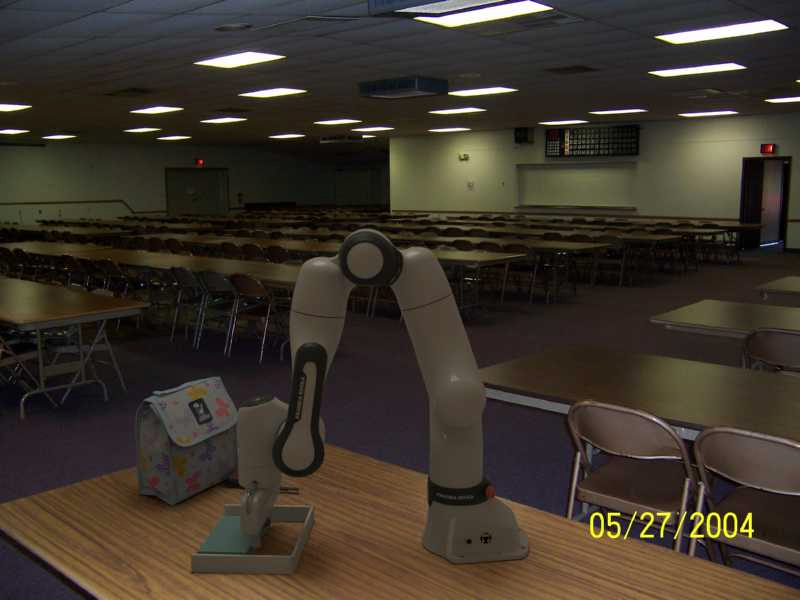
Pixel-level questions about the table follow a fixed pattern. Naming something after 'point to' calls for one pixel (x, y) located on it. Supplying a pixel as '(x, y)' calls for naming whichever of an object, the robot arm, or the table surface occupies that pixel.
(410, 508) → the table surface
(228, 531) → the cover plate
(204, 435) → the lunch bag
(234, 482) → the walkie-talkie
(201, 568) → the grey u-shaped frame
